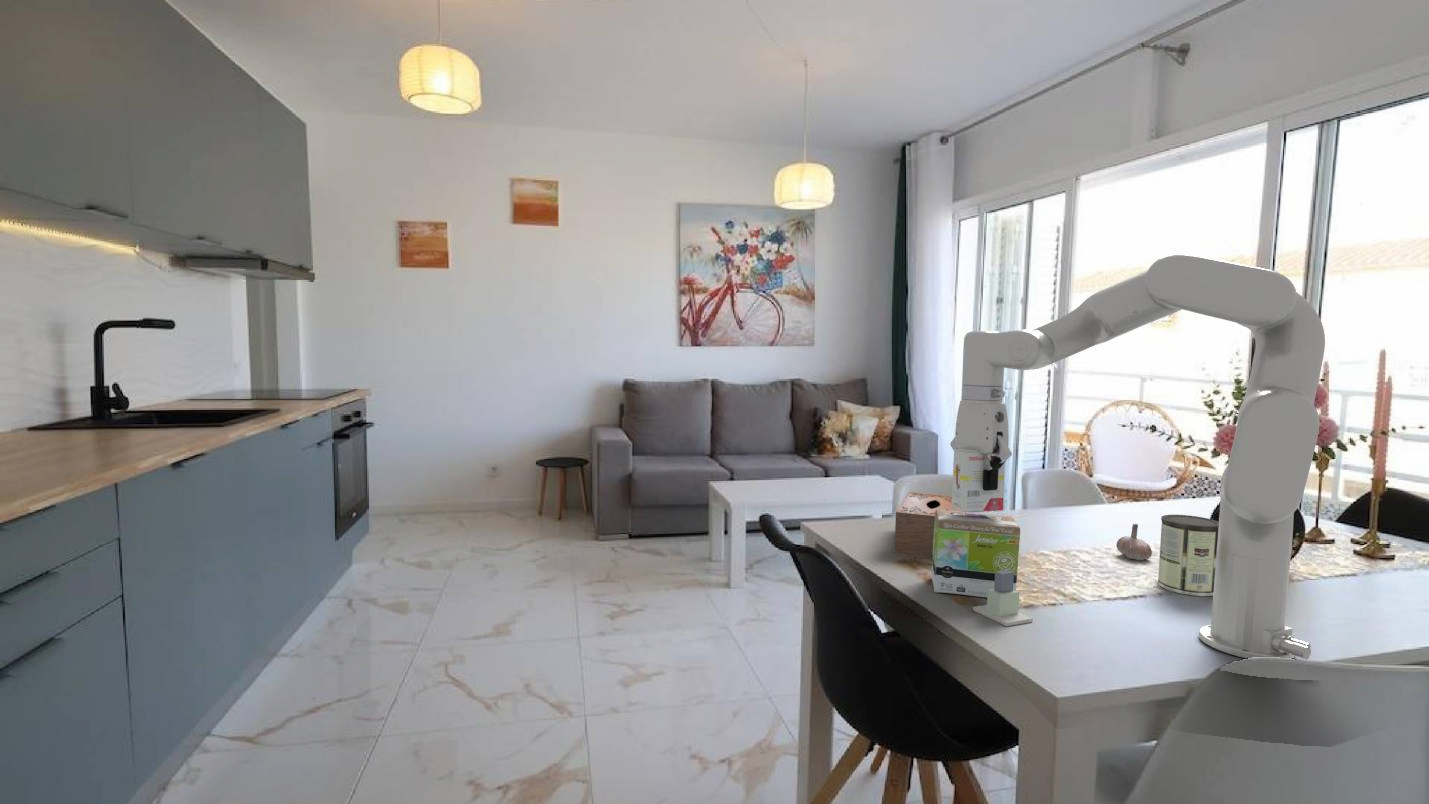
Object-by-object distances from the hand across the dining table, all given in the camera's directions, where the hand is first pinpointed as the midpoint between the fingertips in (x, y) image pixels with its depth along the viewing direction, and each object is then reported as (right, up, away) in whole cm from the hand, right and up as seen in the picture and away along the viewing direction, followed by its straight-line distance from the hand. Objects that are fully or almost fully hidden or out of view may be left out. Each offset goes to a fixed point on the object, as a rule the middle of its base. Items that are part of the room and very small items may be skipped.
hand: (977, 485), depth 140 cm
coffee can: (+44, -22, +6) cm, 50 cm away
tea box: (-1, -21, +2) cm, 21 cm away
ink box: (0, -5, 0) cm, 5 cm away
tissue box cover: (+2, -19, +35) cm, 40 cm away
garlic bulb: (+46, -20, +27) cm, 57 cm away
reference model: (0, -22, -12) cm, 25 cm away
